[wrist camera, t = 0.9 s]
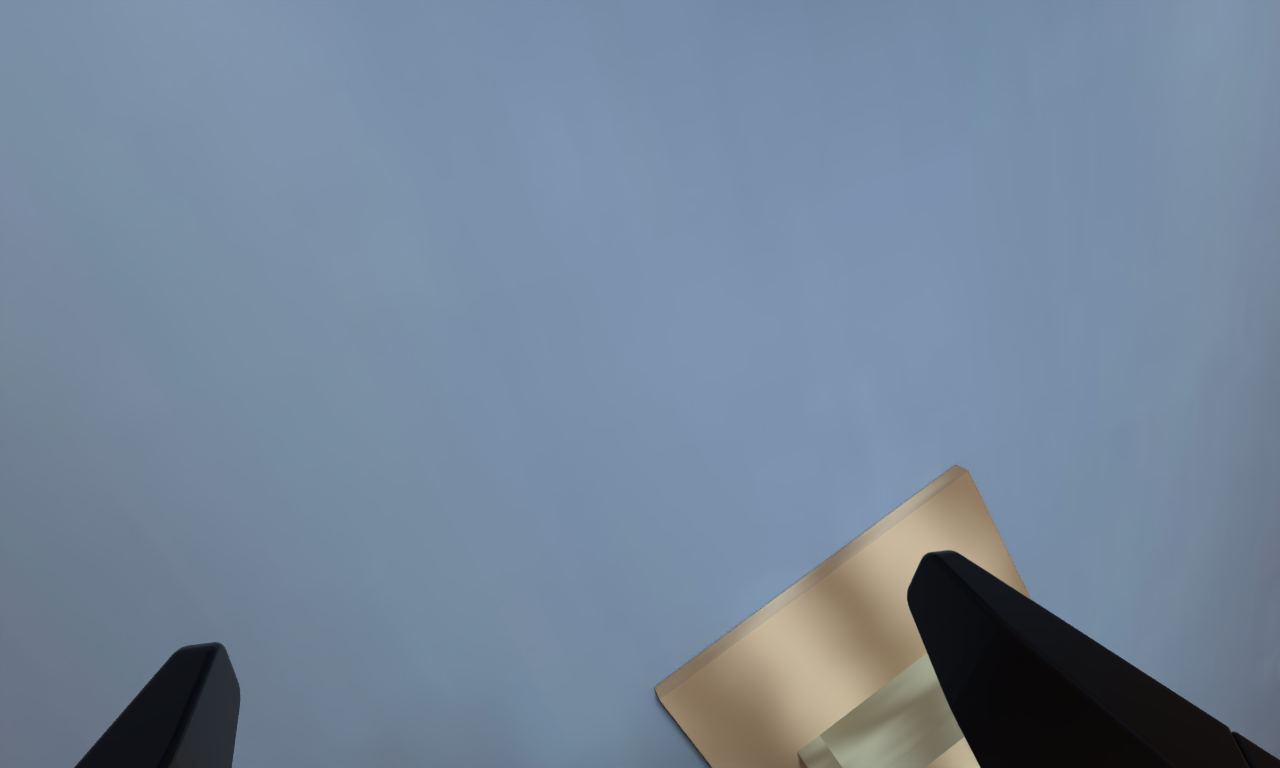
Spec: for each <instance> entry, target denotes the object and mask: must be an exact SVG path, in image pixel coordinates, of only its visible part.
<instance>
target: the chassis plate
mask: <svg viewBox="0 0 1280 768" xmlns="http://www.w3.org/2000/svg"><path fill="white" fill-rule="evenodd" d="M944 550H952V551H955V552H958V553H959V554H961V555H963V556H964V557H966V558H967V559H969V560H970V561H972V562H974V563H975V564H977V565H978V566H980V567H981V568H983V569H984V570H986V571H988V572H989V573H991V574H992V575H994V576H995V577H997V578H998V579H1000V580H1001V581H1003V582H1005V583H1006V584H1008V585H1009V586H1011V587H1012V588H1014V589H1015V590H1017V591H1018V592H1020V593H1022V594H1023V595H1025V596H1026V597H1028V598H1029V599H1031V598H1030V596H1029V594H1028V592H1027V589H1026V587H1025V585H1024V583H1023V581H1022V579H1021V577H1020V575H1019V573H1018V571H1017V569H1016V567H1015V565H1014V563H1013V561H1012V559H1011V557H1010V555H1009V553H1008V550H1007V548H1006V546H1005V544H1004V542H1003V540H1002V538H1001V536H1000V534H999V532H998V530H997V528H996V526H995V524H994V522H993V520H992V518H991V516H990V514H989V512H988V509H987V507H986V505H985V503H984V501H983V499H982V497H981V495H980V493H979V491H978V489H977V487H976V485H975V483H974V481H973V479H972V477H971V475H970V473H969V471H968V470H966V469H964V468H962V467H960V466H958V465H955V466H953V467H952V468H951V469H949V470H948V471H947V472H945V473H944V474H943V475H941V476H940V477H939V478H937V479H936V480H934V481H933V482H932V483H930V484H929V485H928V486H926V487H925V488H924V489H922V490H921V491H920V492H918V493H917V494H916V495H914V496H913V497H912V498H910V499H909V500H907V501H906V502H905V503H903V504H902V505H901V506H899V507H898V508H897V509H895V510H894V511H893V512H891V513H890V514H889V515H887V516H886V517H884V518H883V519H882V520H880V521H879V522H878V523H876V524H875V525H874V526H872V527H871V528H870V529H868V530H867V531H866V532H864V533H863V534H861V535H860V536H859V537H857V538H856V539H855V540H853V541H852V542H851V543H849V544H848V545H847V546H845V547H844V548H843V549H841V550H840V551H838V552H837V553H836V554H834V555H833V556H832V557H830V558H829V559H828V560H826V561H825V562H824V563H822V564H821V565H820V566H818V567H817V568H815V569H814V570H813V571H811V572H810V573H809V574H807V575H806V576H805V577H803V578H802V579H801V580H799V581H798V582H797V583H795V584H794V585H792V586H791V587H790V588H788V589H787V590H786V591H784V592H783V593H782V594H780V595H779V596H778V597H776V598H775V599H774V600H772V601H771V602H769V603H768V604H767V605H765V606H764V607H763V608H761V609H760V610H759V611H757V612H756V613H755V614H753V615H752V616H751V617H749V618H748V619H746V620H745V621H744V622H742V623H741V624H740V625H738V626H737V627H736V628H734V629H733V630H732V631H730V632H729V633H728V634H726V635H725V636H723V637H722V638H721V639H719V640H718V641H717V642H715V643H714V644H713V645H711V646H710V647H709V648H707V649H706V650H705V651H703V652H702V653H700V654H699V655H698V656H696V657H695V658H694V659H692V660H691V661H690V662H688V663H687V664H686V665H684V666H683V667H682V668H680V669H679V670H677V671H676V672H675V673H673V674H672V675H671V676H669V677H668V678H667V679H665V680H664V681H663V682H661V683H660V684H659V685H657V686H656V687H654V688H655V690H656V692H657V695H658V697H659V699H660V701H661V702H662V704H663V705H664V706H665V707H666V709H667V710H668V711H669V713H670V714H671V715H672V716H673V718H674V719H675V720H676V721H677V723H678V724H679V725H680V727H681V728H682V729H683V730H684V732H685V733H686V734H687V736H688V737H689V738H690V739H691V741H692V742H693V743H694V745H695V746H696V747H697V748H698V750H699V751H700V752H701V754H702V755H703V756H704V757H705V759H706V760H707V761H708V763H709V764H710V765H711V766H712V768H980V766H979V764H978V762H977V760H976V758H975V756H974V754H973V752H972V751H971V749H970V747H969V745H968V743H967V741H966V739H965V737H964V735H963V733H962V731H961V729H960V727H959V725H958V723H957V721H956V719H955V717H954V715H953V713H952V711H951V709H950V707H949V705H948V702H947V700H946V698H945V696H944V693H943V691H942V689H941V686H940V684H939V681H938V679H937V676H936V674H935V671H934V669H933V666H932V664H931V661H930V659H929V656H928V654H927V651H926V649H925V647H924V644H923V642H922V639H921V637H920V634H919V632H918V629H917V627H916V624H915V622H914V619H913V617H912V614H911V612H910V609H909V606H908V602H907V590H908V587H909V585H910V583H911V580H912V578H913V576H914V574H915V572H916V569H917V567H918V565H919V563H920V561H921V559H922V557H923V556H924V555H925V554H927V553H929V552H936V551H944Z"/></svg>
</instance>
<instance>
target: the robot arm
mask: <svg viewBox="0 0 1280 768" xmlns="http://www.w3.org/2000/svg"><path fill="white" fill-rule="evenodd" d="M907 602H908V606H909V609H910V612H911V614H912V617H913V619H914V622H915V624H916V627H917V629H918V632H919V634H920V637H921V639H922V642H923V644H924V647H925V649H926V651H927V654H928V656H929V659H930V661H931V664H932V666H933V669H934V671H935V674H936V676H937V679H938V681H939V684H940V686H941V689H942V691H943V693H944V696H945V698H946V700H947V702H948V705H949V707H950V709H951V711H952V713H953V715H954V717H955V719H956V721H957V723H958V725H959V727H960V729H961V731H962V733H963V735H964V737H965V739H966V741H967V743H968V745H969V747H970V749H971V751H972V752H973V754H974V756H975V758H976V760H977V762H978V764H979V766H980V768H1280V760H1279V759H1277V758H1276V757H1274V756H1273V755H1271V754H1269V753H1268V752H1266V751H1265V750H1263V749H1262V748H1260V747H1259V746H1257V745H1256V744H1254V743H1252V742H1251V741H1249V740H1248V739H1246V738H1245V737H1243V736H1242V735H1240V734H1239V733H1237V732H1231V731H1230V729H1229V728H1228V727H1227V726H1226V725H1224V724H1223V723H1221V722H1220V721H1218V720H1217V719H1215V718H1214V717H1212V716H1210V715H1209V714H1207V713H1206V712H1204V711H1203V710H1201V709H1200V708H1198V707H1196V706H1195V705H1193V704H1192V703H1190V702H1189V701H1187V700H1186V699H1184V698H1183V697H1181V696H1179V695H1178V694H1176V693H1175V692H1173V691H1172V690H1170V689H1169V688H1167V687H1166V686H1164V685H1162V684H1161V683H1159V682H1158V681H1156V680H1155V679H1153V678H1152V677H1150V676H1148V675H1147V674H1145V673H1144V672H1142V671H1141V670H1139V669H1138V668H1136V667H1135V666H1133V665H1131V664H1130V663H1128V662H1127V661H1125V660H1124V659H1122V658H1121V657H1119V656H1118V655H1116V654H1114V653H1113V652H1111V651H1110V650H1108V649H1107V648H1105V647H1104V646H1102V645H1101V644H1099V643H1097V642H1096V641H1094V640H1093V639H1091V638H1090V637H1088V636H1087V635H1085V634H1083V633H1082V632H1080V631H1079V630H1077V629H1076V628H1074V627H1073V626H1071V625H1070V624H1068V623H1066V622H1065V621H1063V620H1062V619H1060V618H1059V617H1057V616H1056V615H1054V614H1053V613H1051V612H1049V611H1048V610H1046V609H1045V608H1043V607H1042V606H1040V605H1039V604H1037V603H1035V602H1034V601H1032V600H1031V599H1029V598H1028V597H1026V596H1025V595H1023V594H1022V593H1020V592H1018V591H1017V590H1015V589H1014V588H1012V587H1011V586H1009V585H1008V584H1006V583H1005V582H1003V581H1001V580H1000V579H998V578H997V577H995V576H994V575H992V574H991V573H989V572H988V571H986V570H984V569H983V568H981V567H980V566H978V565H977V564H975V563H974V562H972V561H970V560H969V559H967V558H966V557H964V556H963V555H961V554H959V553H958V552H955V551H952V550H944V551H936V552H929V553H927V554H925V555H924V556H923V557H922V559H921V561H920V563H919V565H918V567H917V569H916V572H915V574H914V576H913V578H912V580H911V583H910V585H909V587H908V590H907ZM239 708H240V687H239V683H238V680H237V678H236V675H235V672H234V670H233V667H232V664H231V662H230V659H229V656H228V654H227V651H226V649H225V647H224V646H223V645H222V644H221V643H219V642H213V643H205V644H197V645H189V646H185V647H182V648H180V649H179V650H177V651H176V652H175V653H174V654H173V655H172V656H171V657H170V658H169V659H168V660H167V662H166V663H165V664H164V665H163V666H162V667H161V668H160V670H159V671H158V672H157V673H156V674H155V675H154V677H153V678H152V679H151V680H150V681H149V682H148V683H147V685H146V686H145V687H144V688H143V689H142V690H141V691H140V693H139V694H138V695H137V696H136V697H135V698H134V700H133V701H132V702H131V703H130V704H129V705H128V706H127V708H126V709H125V710H124V711H123V712H122V713H121V715H120V716H119V717H118V718H117V719H116V720H115V721H114V723H113V724H112V725H111V726H110V727H109V728H108V729H107V731H106V732H105V733H104V734H103V735H102V736H101V738H100V739H99V740H98V741H97V742H96V743H95V744H94V746H93V747H92V748H91V749H90V750H89V751H88V752H87V754H86V755H85V756H84V757H83V758H82V759H81V761H80V762H79V763H78V764H77V765H76V766H75V767H74V768H232V761H233V753H234V746H235V738H236V730H237V723H238V715H239Z"/></svg>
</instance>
